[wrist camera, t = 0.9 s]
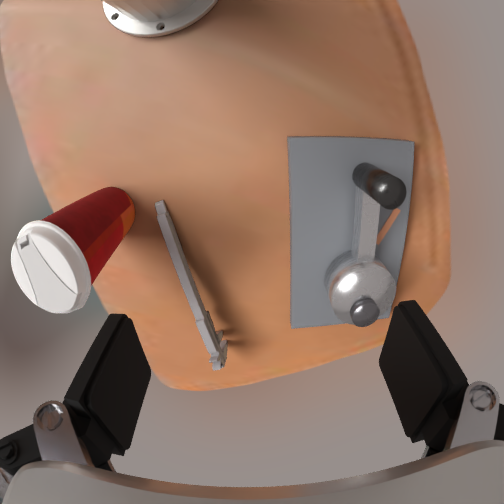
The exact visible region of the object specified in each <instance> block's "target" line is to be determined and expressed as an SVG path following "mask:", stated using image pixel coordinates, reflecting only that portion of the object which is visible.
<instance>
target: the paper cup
mask: <svg viewBox="0 0 504 504" xmlns="http://www.w3.org/2000/svg"><path fill="white" fill-rule="evenodd" d="M134 219H135V208H134V204H133V202H132V200H131V198H130V197H129V196H128V194H127V193H125V192H124V191H123V190H121V189H119V188H115V187H107V188H103V189H101V190H98V191H96V192H94V193H92V194H90V195H88V196H86V197H84V198H82V199H80V200H78V201H76V202H74V203H72V204H70V205H68V206H66V207H64V208H62V209H61V210H59V211H57V212H55V213H53V214H51V215H49V216H47V217H46V218H44V219H42V220H41V221H32V222H30V223H28V224H26V225H25V226H24V227H23V228H22V230H21V231H20V232H19V235H18V237H17V240H16V241H15V243H14V245H13V248H12V252H11V264H12V269H13V273H14V275H15V278H16V280H17V282H18V284H19V286H20V288H21V289H22V291H23V292H24V293H25V294H26V296H27V297H28V298H29V299H30V300H31V301H32V302H33V303H35V304H36V305H37V306H39V307H41V308H43V309H44V310H47V311H49V312H52V313H69V312H72V311H75V310H78V309H80V308H82V307H83V306H84V304H85V302H86V300H87V299H88V297H89V294H90V291H91V285H92V284H93V282H94V280H95V279H96V277H97V276H98V274H99V273H100V271H101V270H102V268H103V267H104V265H105V264H106V262H107V261H108V260H109V258H110V257H111V255H112V254H113V252H114V251H115V249H116V248H117V247H118V245H119V244H120V242H121V241H122V239H123V238H124V237H125V235H126V234H127V232H128V231H129V229H130V228H131V226H132V224H133V222H134Z"/></svg>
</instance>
